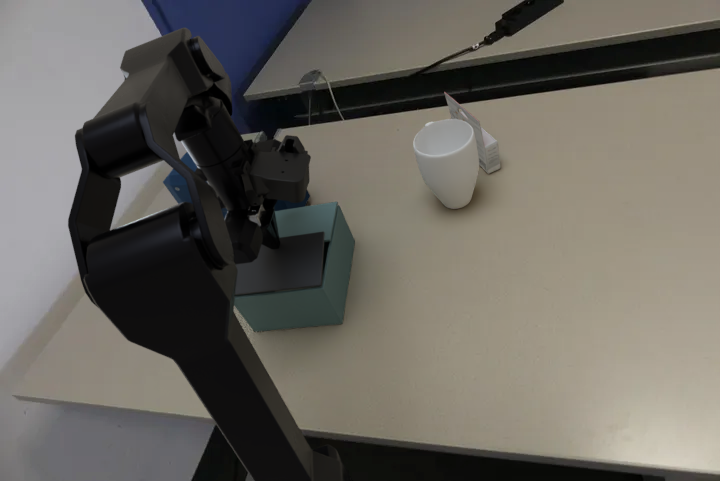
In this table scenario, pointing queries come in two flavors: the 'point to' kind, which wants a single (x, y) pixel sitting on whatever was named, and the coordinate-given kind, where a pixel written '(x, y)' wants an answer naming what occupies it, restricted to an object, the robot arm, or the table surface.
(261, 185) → the robot arm
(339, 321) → the teal storage bin
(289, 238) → the hatch
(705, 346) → the table surface
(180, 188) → the radio
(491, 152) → the ink cartridge box
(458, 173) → the mug
